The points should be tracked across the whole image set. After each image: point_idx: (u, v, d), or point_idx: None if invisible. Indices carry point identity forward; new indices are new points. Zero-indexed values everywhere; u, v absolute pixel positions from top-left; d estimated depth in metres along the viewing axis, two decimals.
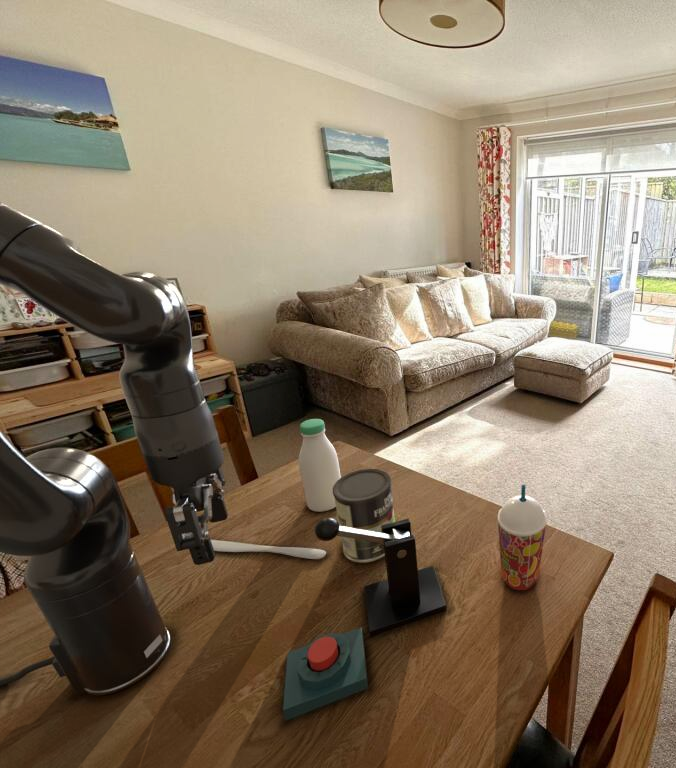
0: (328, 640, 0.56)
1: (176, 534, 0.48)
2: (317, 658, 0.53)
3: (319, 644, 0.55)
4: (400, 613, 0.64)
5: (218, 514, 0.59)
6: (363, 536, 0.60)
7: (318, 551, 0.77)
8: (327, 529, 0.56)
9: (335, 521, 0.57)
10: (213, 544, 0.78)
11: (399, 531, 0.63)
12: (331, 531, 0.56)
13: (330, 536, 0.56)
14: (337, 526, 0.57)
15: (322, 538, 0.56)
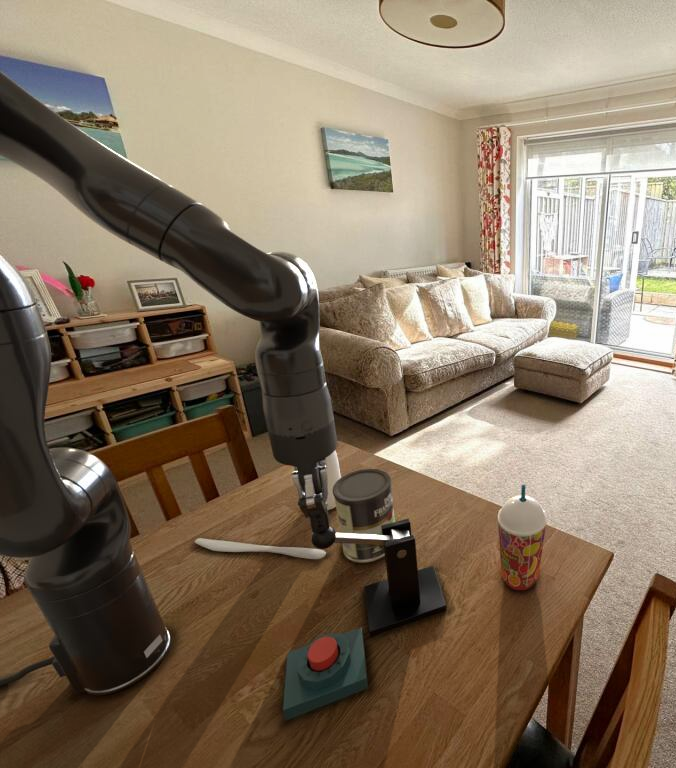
0: (328, 640, 0.56)
1: (307, 513, 0.51)
2: (317, 658, 0.53)
3: (319, 644, 0.55)
4: (400, 613, 0.64)
5: None
6: (361, 540, 0.60)
7: (318, 551, 0.77)
8: (323, 538, 0.56)
9: (330, 529, 0.58)
10: (213, 544, 0.78)
11: (398, 531, 0.63)
12: (327, 539, 0.56)
13: (326, 544, 0.57)
14: (333, 533, 0.57)
15: (319, 547, 0.56)
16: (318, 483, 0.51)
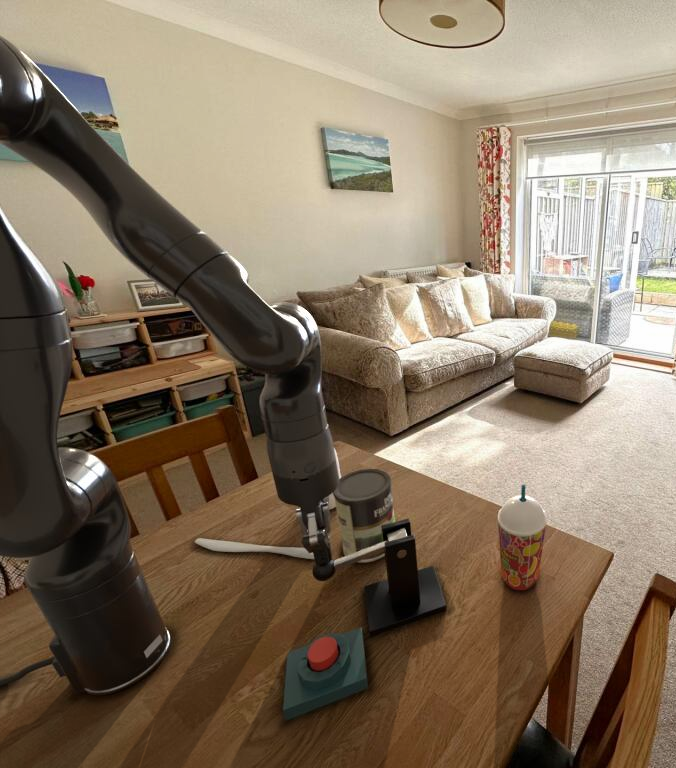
0: (328, 640, 0.56)
1: (310, 549, 0.53)
2: (317, 658, 0.53)
3: (319, 644, 0.55)
4: (400, 613, 0.64)
5: None
6: (360, 557, 0.61)
7: None
8: (320, 572, 0.58)
9: None
10: (213, 544, 0.78)
11: (394, 533, 0.63)
12: (324, 571, 0.58)
13: (327, 576, 0.58)
14: (328, 564, 0.59)
15: (322, 580, 0.58)
16: (321, 520, 0.53)
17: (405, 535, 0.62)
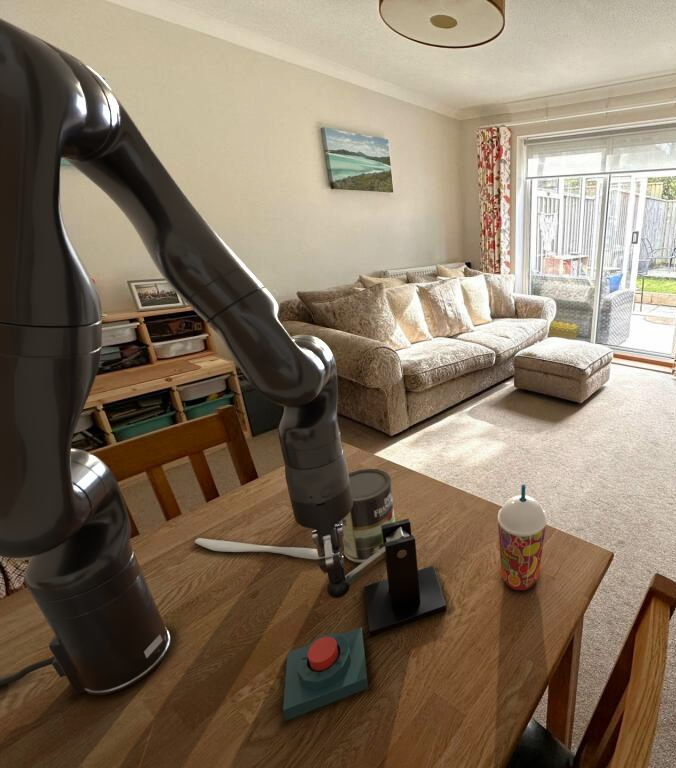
0: (328, 640, 0.56)
1: (326, 570, 0.55)
2: (317, 658, 0.53)
3: (319, 644, 0.55)
4: (400, 613, 0.64)
5: None
6: (366, 567, 0.62)
7: None
8: (333, 591, 0.60)
9: None
10: (213, 544, 0.78)
11: (391, 535, 0.63)
12: (337, 590, 0.60)
13: (341, 593, 0.60)
14: (339, 582, 0.61)
15: (338, 597, 0.61)
16: (336, 542, 0.55)
17: (401, 535, 0.62)
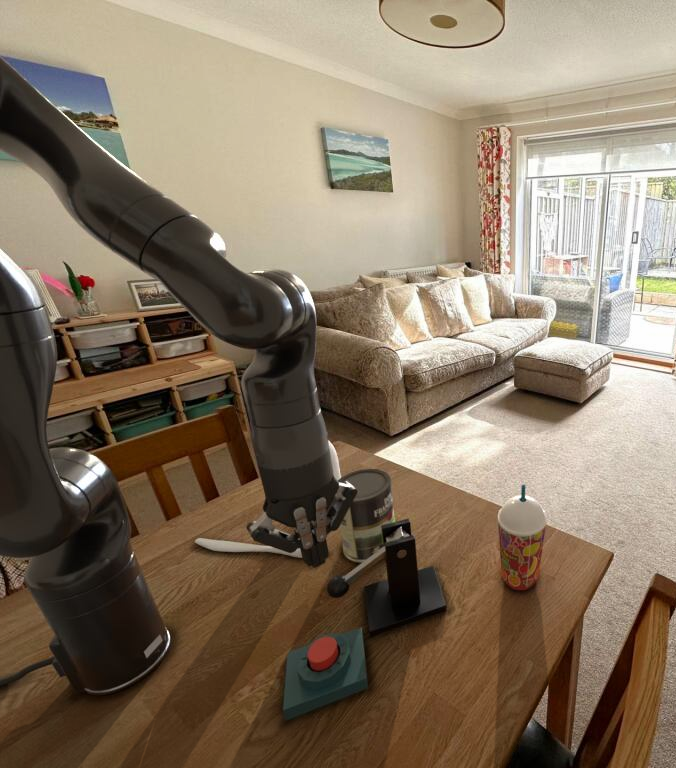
0: (328, 640, 0.56)
1: None
2: (317, 658, 0.53)
3: (319, 644, 0.55)
4: (400, 613, 0.64)
5: None
6: (366, 566, 0.62)
7: None
8: (332, 591, 0.60)
9: (334, 579, 0.61)
10: (213, 544, 0.78)
11: (391, 535, 0.63)
12: (336, 589, 0.60)
13: (341, 592, 0.60)
14: (338, 581, 0.61)
15: (338, 597, 0.61)
16: (277, 520, 0.47)
17: (401, 535, 0.62)
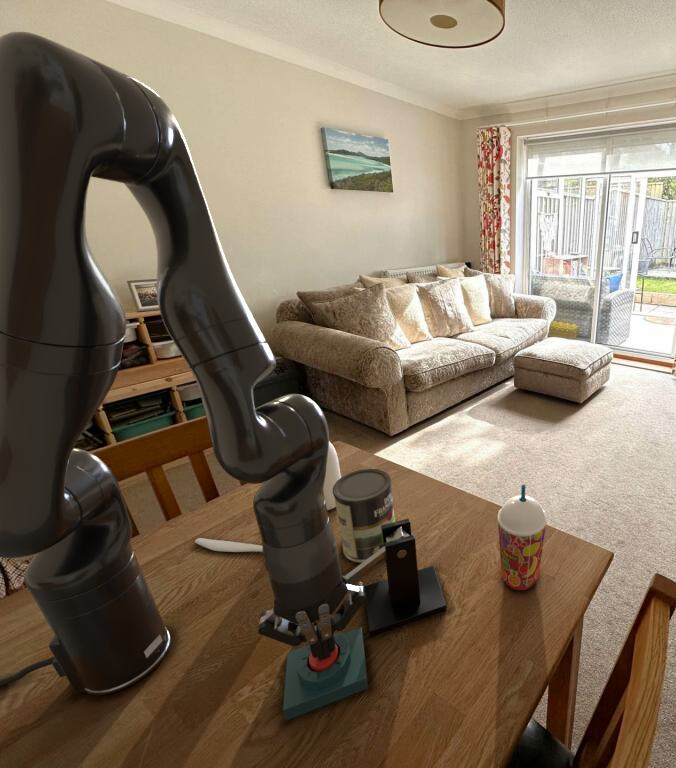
0: None
1: None
2: (318, 663, 0.54)
3: None
4: (400, 613, 0.64)
5: None
6: (366, 566, 0.62)
7: None
8: None
9: None
10: (213, 544, 0.78)
11: (391, 535, 0.63)
12: None
13: None
14: None
15: None
16: (282, 617, 0.49)
17: (401, 535, 0.62)
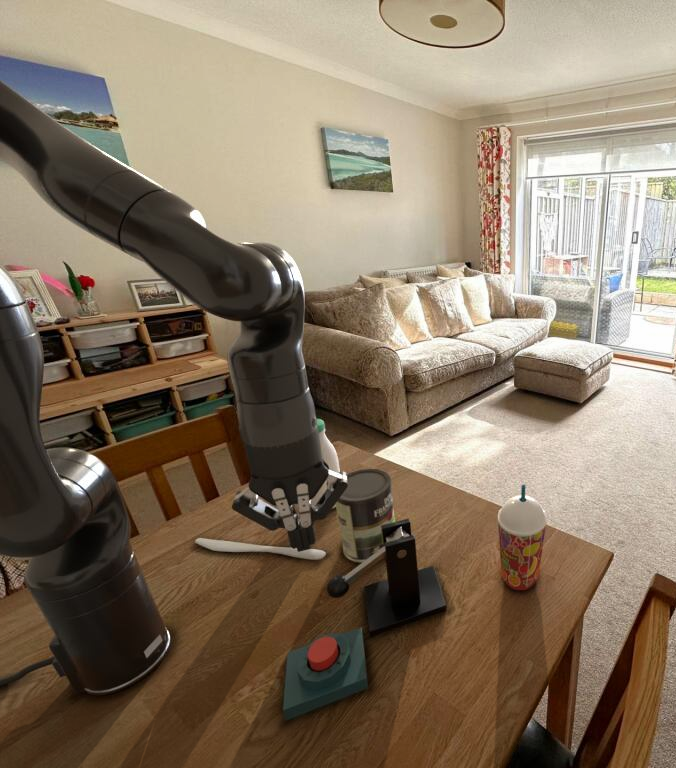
0: (328, 640, 0.56)
1: None
2: (317, 658, 0.53)
3: (319, 644, 0.55)
4: (400, 613, 0.64)
5: None
6: (366, 566, 0.62)
7: (318, 551, 0.77)
8: (332, 591, 0.60)
9: (334, 579, 0.61)
10: (213, 544, 0.78)
11: (391, 535, 0.63)
12: (336, 589, 0.60)
13: (341, 592, 0.60)
14: (338, 581, 0.61)
15: (338, 597, 0.61)
16: (258, 494, 0.47)
17: (401, 535, 0.62)
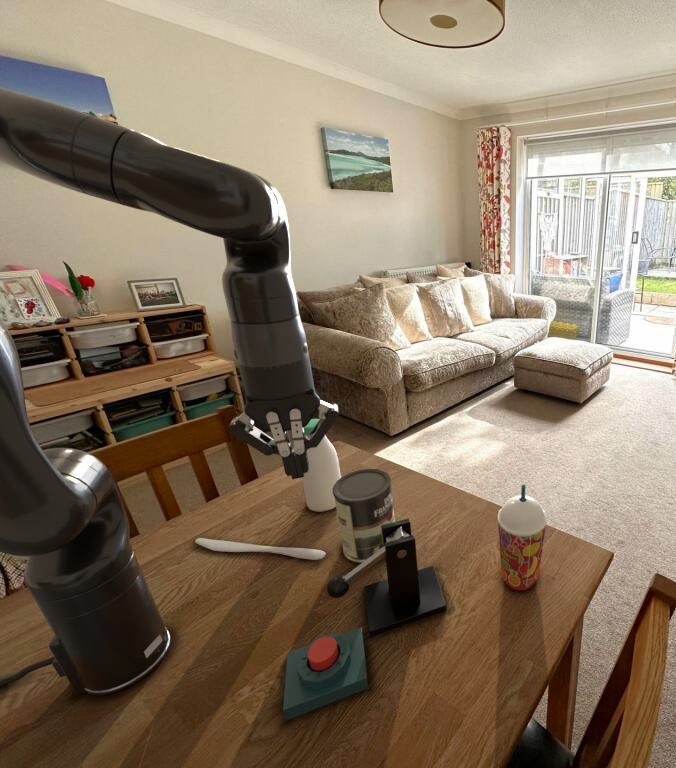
0: (328, 640, 0.56)
1: None
2: (317, 658, 0.53)
3: (319, 644, 0.55)
4: (400, 613, 0.64)
5: None
6: (366, 566, 0.62)
7: (318, 551, 0.77)
8: (332, 591, 0.60)
9: (334, 579, 0.61)
10: (213, 544, 0.78)
11: (391, 535, 0.63)
12: (336, 589, 0.60)
13: (341, 592, 0.60)
14: (338, 581, 0.61)
15: (338, 597, 0.61)
16: (253, 419, 0.49)
17: (401, 535, 0.62)
